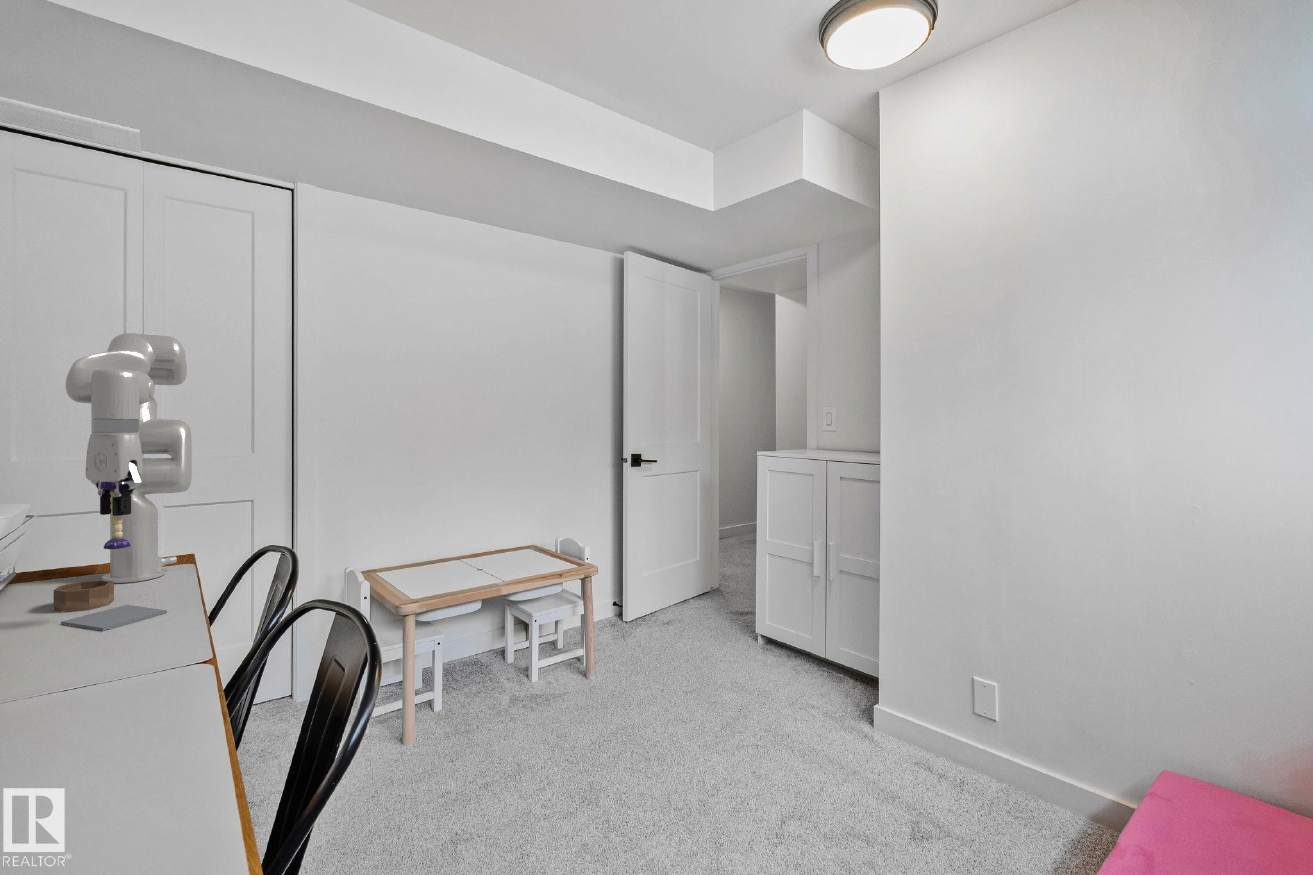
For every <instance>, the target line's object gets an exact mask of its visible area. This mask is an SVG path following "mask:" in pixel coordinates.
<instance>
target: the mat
mask: <svg viewBox="0 0 1313 875" xmlns="http://www.w3.org/2000/svg"><path fill="white" fill-rule="evenodd" d="M167 613H168V612H167V609H166V610H165V609H162V608H161V609H159V608H152V607H146V606H139V605H130V604H124V605H121V606H116V607H113V608H108V609H105V610H100V611H97V612H93V613H88V614H85V615H82V616H78V617H74V618H70V619H67V620H61V621H60V622H61V623H60V625H62V624H66V625H65V626H68V625H70V627H74V626H77V627H76V628H80V627H82V628H81V629H87V628H89V629H88V630H93V629H97V630H96V631H99V630H100V631H99V632H104V631H108V630H107V629H109V630H111V628H112V629H116V628H120V627H123V626H126V625H130V624H133V623H137V622H140V621H144V620H147V619H151V618H154V617H158V616H162V615H165V614H167Z"/></svg>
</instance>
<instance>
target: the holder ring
mask: <svg viewBox="0 0 1313 875" xmlns="http://www.w3.org/2000/svg"><path fill="white" fill-rule="evenodd" d="M114 601H115V583H114V581H109V580H102V579H94V580H93V579H92V580H81V581H76V582H71V583H66V584H62V585H59V586H58V587H56V588H55V589H53V611H54V612H61V611H62V612H63V613H71V612H72V611H73V612H81V611H90V610H93V609H98V608H102V606H103V607H105V606H109V605H111V604H112V603H113V602H114Z"/></svg>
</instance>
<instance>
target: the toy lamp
mask: <svg viewBox="0 0 1313 875" xmlns="http://www.w3.org/2000/svg"><path fill="white" fill-rule="evenodd" d="M121 481H127V478H125V479H121V480H120V482H121ZM123 485H125V484H121V488H122V487H123ZM100 489H103V490H110V495H111V498H110V501H111V506H110V508H111V510H112V497H116V496H115V484H114V483H112V482H101V486H100ZM121 516H122V515H121ZM121 516H113V515H112V511H111V517H112V518H111V524H112V526H111V530H112V538H113V539H111V540H110V539H109V540H107V541H106V542H105V543H104V545H103V549H104V550H110V549H120V548H127V547H130V546H131V544H130V542H129V541H128V540H127V539H124V538H122V536H123V533H122V525H121V523H122V518H121Z"/></svg>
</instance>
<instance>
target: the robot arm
mask: <svg viewBox="0 0 1313 875" xmlns="http://www.w3.org/2000/svg"><path fill="white" fill-rule="evenodd" d="M185 352H186V351H185V350H184V347H183V344H182V343H181V342H180V341H179V340H178V339H177V338H175V337H172V336H168V335H156V334H143V333H135V332H134V333H133V332H131V333H121V334H119V335H116V336H115V337H114V338H112V339H111V341H110V343H109V346H108V348H107V350H106V351H103V352H99V353H95V354H90V355H86V356H83V357H80V358H78V359H77V360H75V361H74V362H73V363H72V365H71V367H70V368H69V370H68V373H67V376H66V378H65V390H66V394H67V396H68V397H69V398H70V399H71V400H72V401H73V402H76V403H80V404H91V409H90V410H91V412H90V413H91V415H90V416H91V417H90V418H91V420H90V422H91V426H90V427H91V428H90V429H91V433H90V436H89V438H88V442H87V449H86V456H85V457H86V458H85V478H86V479H87V480H88V481H90V482H91V483H92V484H93V485H95V488H97V495H98V496H99V514H100V515H101V516H106V515H107V516H108V515H109V521H110V522H109V527H110V528H109V531H110V533H109V536H110V537H109V540H111V539H113V538H112V530H111V526H112V524H111V518H112V517H111V511H112V515H113V516H121V515H122V516H121V518H122V523H121V525H122V533H123V536H122V538H124V539H127V540H128V541H129V542H130V544H131V546H130V547H127V548H120V549H109V562H110V563H109V572H108V573H106V574H103V575H102V576H101V580H109V581H114V584H123V583H134V582H143V581H147V580H148V581H149V580H153V579H156V578H160V577H162V576H163V575H165V574H166V569H165V568H163V567H165V565H171V564H176V563H177V561H178V560H177V557H176V556H175V555H172V556H167V557H163V556H158V552H159V548H158V546H159V544H158V543H159V541H158V540H159V538H158V537H159V534H158V532H159V530H158V529H159V527H158V526H159V522H158V520H159V512H158V511H159V510H158V508H157V507H156V505H155V504H154V503H153V502H152V501H150V499H148V497H146V495H154V494H175V493H176V494H177V493H182V492H186V491H187V490H188V489H190V488H191V484H192V473H193V472H192V470H193V465H192V464H193V463H192V462H193V461H192V450H193V449H192V448H193V447H192V446H193V445H192V443H193V441H192V431H191V428H190V426H189V425H188V424H189V423H186V421H183V420H181V419H180V420H179V419H169V418H168V419H159V418H158V402H157V400H156V399H155V397H154V395H155V392H156V386H155V385H158V386H179V385H182V384H183V383H184V382H185V380H186V379H187V375H188V374H187V372H188V368H187V360H186V358H187V357H186V353H185ZM143 455H168V456H170V457H168V458H167V457H166V458H165V457H164V458H163V457H162V458H161V457H160V458H159V457H157V458H156V457H155V458H152V457H151V458H150V457H143ZM125 478H127V481H121V482H120V480H121V479H125ZM101 482H112V483H114V484H115V496H116V497H112V510H111V508H110V506H111V501H110V498H111V495H110V490H103V489H100V486H101ZM121 484H125V485H123V487H122V488H121Z"/></svg>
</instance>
